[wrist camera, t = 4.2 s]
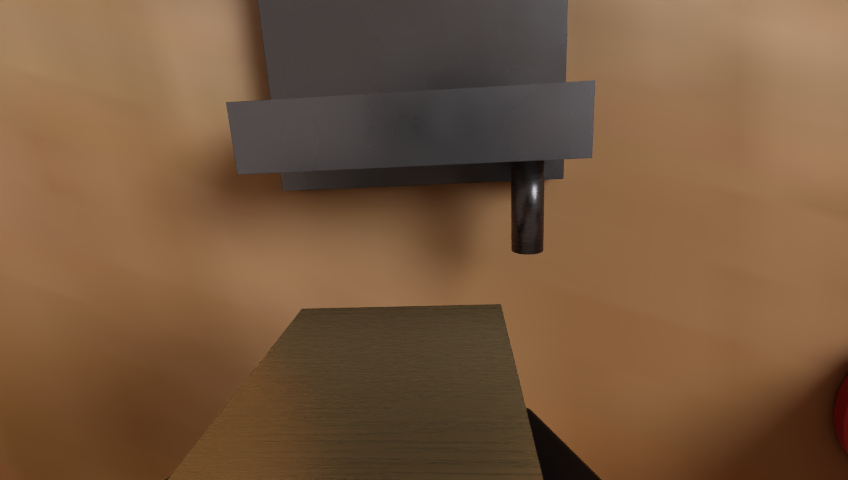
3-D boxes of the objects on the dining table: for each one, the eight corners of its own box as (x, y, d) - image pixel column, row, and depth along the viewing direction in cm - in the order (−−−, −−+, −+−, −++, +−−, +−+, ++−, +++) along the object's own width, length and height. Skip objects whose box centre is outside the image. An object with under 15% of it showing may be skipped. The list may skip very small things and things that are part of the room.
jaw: (563, 236, 16) (587, 262, 13) (286, 246, 17) (252, 273, 14) (568, 87, 15) (594, 80, 12) (268, 104, 16) (225, 102, 13)
